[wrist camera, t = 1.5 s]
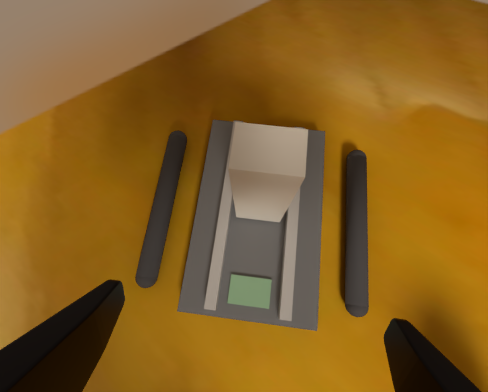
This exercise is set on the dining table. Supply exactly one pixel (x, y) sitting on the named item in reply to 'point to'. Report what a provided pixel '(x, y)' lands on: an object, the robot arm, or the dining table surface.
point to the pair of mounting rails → (354, 224)
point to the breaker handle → (266, 169)
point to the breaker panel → (255, 246)
